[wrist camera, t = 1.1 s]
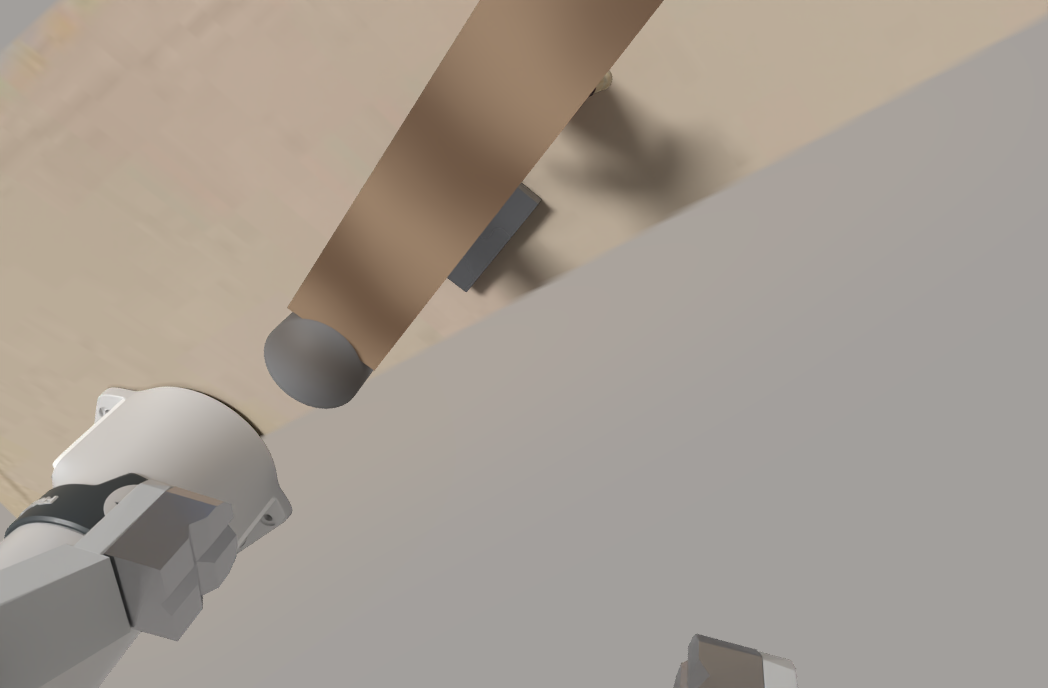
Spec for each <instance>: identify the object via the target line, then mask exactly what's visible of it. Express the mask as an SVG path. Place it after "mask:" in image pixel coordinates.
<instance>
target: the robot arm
mask: <svg viewBox="0 0 1048 688" xmlns="http://www.w3.org/2000/svg"><path fill="white" fill-rule="evenodd" d="M53 467H54V471H53V474H52V483H53V489H51V490H49V491H48V492H47V493H46V494H45V495H43V496H42V497H41V498H40V499H39V500H36V501H35V502H34V503H32V504H31V505H30V506H28V507H27V508H26V509H25V510H24V511H23V512H22V513H21V514H20V516H19V517H18V519H16V520H15V521H14V522H13V523H12V524H11V525H10V526H9V528H8V529H7V531H6V533H5V537H4V540H2V541H1V542H0V688H99V686H100V685H101V684H102V682H103V681H104V680H105V678H106V677H107V676H108V674H109V673H110V672H111V670H112V669H113V667H114V666H115V665H116V664H117V662H118V661H119V660H120V658H121V657H122V656H123V654H124V653H125V652H126V650H127V649H128V648H129V646H130V645H131V644H132V643H133V641H134V640H135V639H136V638H137V636H138V635H139V634H140V632H146V633H150V634H153V635H157V636H160V637H164V638H167V639H171V640H174V641H178V640H179V639H180V637H181V636H182V635H183V634H184V632H185V631H186V630H187V628H188V627H189V626H190V624H191V623H192V622H193V620H194V619H195V618H196V616H197V615H198V614H199V613H200V611H201V610H202V608H203V600H202V599H203V597H202V596H203V595H204V594H206V593H208V592H210V591H212V590H214V589H216V588H218V587H219V586H220V585H221V583H222V582H223V581H224V579H225V578H226V577H227V575H228V574H229V572H230V569H231V567H232V565H233V563H234V561H235V558H236V554H237V553H239V552H240V551H242V550H243V549H244V548H246V547H248V546H249V545H250V544H252V543H253V542H255V541H256V540H258V539H260V538H261V537H262V536H264V535H265V534H267V533H268V532H270V531H271V530H273V529H274V528H276V527H277V526H279V525H280V524H282V523H283V522H284V521H285V520H286V519H287V518H288V517H289V516H290V515H291V513H292V507H291V504H290V502H289V501H288V499H287V497H286V496H285V494H284V493H283V491H282V490H281V488H280V487H279V484H278V480H277V474H276V469H275V465H274V462H273V459H272V457H271V454H270V452H269V450H268V449H267V446H266V445H265V443H264V442H263V440H262V439H261V437H260V436H259V435H258V433H257V432H256V431H255V430H254V429H253V428H252V427H251V426H250V425H249V424H248V423H247V422H246V421H245V420H244V419H243V418H242V417H241V416H240V415H238V414H237V413H236V412H234V411H233V410H232V409H230V408H229V407H227V406H226V405H224V404H222V403H221V402H219V401H217V400H215V399H213V398H211V397H209V396H207V395H204V394H202V393H199V392H196V391H193V390H189V389H185V388H179V387H157V388H152V389H148V390H143V391H133V390H128V389H122V388H108V389H106V390H105V391H104V392H103V393H102V394H101V395H100V396H99V397H98V400H97V408H96V415H95V423H94V425H93V426H92V427H91V428H90V429H88V430H87V431H86V432H85V433H84V434H83V435H82V436H81V437H80V438H78V439H77V440H76V441H75V442H74V443H73V444H72V445H71V446H70V447H69V448H67V449H66V450H65V451H64V452H63V453H62V454H61V455H60V456H59V457H58V458H57V459H56V460H55V462H54V463H53ZM674 688H798V684H797V675H796V668H795V666H794V664H793V663H792V661H791V660H789V659H785V658H781V657H778V656H774V655H770V654H767V653H763V652H758V651H757V650H756V649H752V648H748V647H744V646H740V645H737V644H733V643H729V642H725V641H722V640H718V639H714V638H710V637H707V636H703V635H699V634H695V635H694V636H693V638H692V640H691V642H690V644H689V646H688V661H686V662H684V663H681V665H680V668H679V670H678V673H677V676H676V680H675V684H674Z"/></svg>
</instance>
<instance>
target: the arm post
mask: <svg viewBox="0 0 1048 688" xmlns="http://www.w3.org/2000/svg"><path fill="white" fill-rule="evenodd" d="M540 200H541V198H540V197H538V196H537V195H536V194H535V193H533V192H532V191H531V190H530V189H528V188H527V187H526V186H525V185H524V184H522V183H520V185H519V186H518V187H517V189H516V190H515V191H514V192H513V194H512V195H511V196H510V198H509V199H508V200H507V201H506V203H505V204H504V205H503V206H502V208H501V209H500V210H499V212H498V213H497V214H496V215H495V217H494V218H493V219H492V221H491V222H490V223H489V224H488V226H487V227H486V228H485V230H484V231H483V232H482V233H481V235H480V236H479V237H478V238H477V240H476V241H475V242H474V244H473V245H472V246H471V247H470V249H469V250H468V251H467V253H466V254H465V255H464V256H463V258H462V259H461V260H460V261H459V263H458V264H457V265H456V267H455V268H454V269H453V270H452V272H451V273H450V274H449V276H448V277H447V278H448V279H449V280H451V281H452V282H453V283H455V284H456V285H457V286H458V287H460V288H461V289H462V290H464V291H465V292H467V291H468V290H469V288H470V287H471V286H472V285H473V284H474V282H475V281H476V280H477V279H478V277H479V276H480V275H481V274H482V273H483V271H484V270H485V269H486V268H487V266H488V265H489V264H490V263H491V261H492V260H493V259H494V258H495V257H496V255H497V254H498V253H499V252H500V250H501V249H502V248H503V247H504V246H505V244H506V243H507V242H508V241H509V239H510V238H511V237H512V236H513V235H514V233H515V232H516V231H517V230H518V228H519V227H520V226H521V225H522V224H523V222H524V221H525V220H526V219H527V217H528V216H529V215H530V214H531V212H532V211H533V210H534V209H535V208H536V206H537V205H538V204H539V202H540Z"/></svg>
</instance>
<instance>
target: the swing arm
mask: <svg viewBox="0 0 1048 688" xmlns="http://www.w3.org/2000/svg"><path fill="white" fill-rule="evenodd" d="M662 2H663V0H480V1H479V3H478V4H477V6H476V7H475V9H474V11H473V12H472V14H471V15H470V17H469V19H468V20H467V22H466V23H465V25H464V26H463V28H462V30H461V31H460V33H459V34H458V36H457V38H456V39H455V41H454V42H453V44H452V46H451V47H450V49H449V50H448V52H447V54H446V55H445V57H444V58H443V60H442V62H441V63H440V65H439V66H438V68H437V70H436V71H435V73H434V74H433V76H432V78H431V79H430V81H429V82H428V84H427V86H426V87H425V89H424V90H423V92H422V93H421V95H420V97H419V98H418V100H417V101H416V103H415V105H414V106H413V108H412V109H411V111H410V113H409V114H408V116H407V117H406V119H405V121H404V122H403V124H402V125H401V127H400V129H399V130H398V132H397V133H396V135H395V137H394V138H393V140H392V141H391V143H390V145H389V146H388V148H387V149H386V151H385V153H384V154H383V156H382V157H381V159H380V160H379V162H378V164H377V165H376V167H375V168H374V170H373V172H372V173H371V175H370V176H369V178H368V180H367V181H366V183H365V184H364V186H363V188H362V189H361V191H360V192H359V194H358V196H357V197H356V199H355V200H354V202H353V204H352V205H351V207H350V208H349V210H348V212H347V213H346V215H345V216H344V218H343V220H342V221H341V223H340V224H339V226H338V227H337V229H336V231H335V232H334V234H333V235H332V237H331V239H330V240H329V242H328V243H327V245H326V247H325V248H324V250H323V251H322V253H321V255H320V256H319V258H318V259H317V261H316V263H315V264H314V266H313V267H312V269H311V271H310V272H309V274H308V275H307V277H306V279H305V280H304V282H303V283H302V285H301V287H300V288H299V290H298V291H297V293H296V295H295V296H294V298H293V299H292V301H291V302H290V304H289V306H288V307H287V308H288V309H290V310H291V311H292V313H291V314H290V315H289V316H288V317H287V318H286V319H285V320H284V321H283V322H281V323H280V324H279V325H278V326H277V327H276V328H275V329H274V330H273V331H272V332H271V333H270V334H269V336H268V338H267V340H266V343H265V347H264V357H265V363H266V366H267V369H268V371H269V373H270V375H271V376H272V378H273V380H274V381H275V382H276V384H277V385H278V386H279V387H280V388H281V389H282V390H283V391H284V392H285V393H287V394H288V395H289V396H290V397H292V398H294V399H295V400H297V401H299V402H301V403H303V404H306V405H308V406H312V407H316V408H325V409H327V408H336V407H339V406H342V405H344V404H346V403H348V402H349V401H350V400H351V399H352V398H353V397H354V396H355V395H356V393H357V392H358V391H359V389H360V388H361V386H362V385H363V384H364V382H365V381H366V380H367V378H368V377H369V376H370V374H371V373H372V371H373V370H375V369H376V368H377V366H378V365H379V364H380V363H381V361H382V360H383V359H384V357H385V356H386V355H387V354H388V352H389V351H390V350H391V348H392V347H393V346H394V345H395V343H396V342H397V341H398V340H399V338H400V337H401V336H402V334H403V333H404V332H405V331H406V329H407V328H408V327H409V325H410V324H411V323H412V322H413V320H414V319H415V318H416V317H417V315H418V314H419V313H420V311H421V310H422V309H423V308H424V306H425V305H426V304H427V302H428V301H429V300H430V299H431V297H432V296H433V295H434V293H435V292H436V291H437V290H438V288H439V287H440V286H441V285H442V283H443V282H444V281H445V279H446V278H447V277H448V276H449V274H450V273H451V272H452V270H453V269H454V268H455V267H456V265H457V264H458V263H459V261H460V260H461V259H462V258H463V256H464V255H465V254H466V253H467V251H468V250H469V249H470V247H471V246H472V245H473V244H474V242H475V241H476V240H477V238H478V237H479V236H480V235H481V233H482V232H483V231H484V230H485V228H486V227H487V226H488V224H489V223H490V222H491V221H492V219H493V218H494V217H495V215H496V214H497V213H498V212H499V210H500V209H501V208H502V206H503V205H504V204H505V203H506V201H507V200H508V199H509V198H510V196H511V195H512V194H513V192H514V191H515V190H516V189H517V187H518V186H519V185H520V183H521V182H522V181H523V180H524V178H525V177H526V176H527V174H528V173H529V172H530V171H531V169H532V168H533V167H534V166H535V164H536V163H537V162H538V160H539V159H540V158H541V157H542V155H543V154H544V153H545V151H546V150H547V149H548V148H549V146H550V145H551V144H552V143H553V141H554V140H555V139H556V137H557V136H558V135H559V134H560V132H561V131H562V130H563V128H564V127H565V126H566V125H567V123H568V122H569V121H570V119H571V118H572V117H573V116H574V114H575V113H576V112H577V111H578V109H579V108H580V107H581V105H582V104H583V103H584V102H585V100H586V99H587V98H588V96H589V95H590V94H591V93H592V91H593V90H594V89H595V87H596V86H597V85H598V84H599V82H600V81H601V80H602V79H603V77H604V76H605V75H606V73H607V72H608V71H609V70H610V68H611V67H612V66H613V64H614V63H615V62H616V61H617V59H618V58H619V57H620V55H621V54H622V53H623V52H624V50H625V49H626V48H627V47H628V45H629V44H630V43H631V41H632V40H633V39H634V38H635V36H636V35H637V34H638V32H639V31H640V30H641V29H642V27H643V26H644V25H645V24H646V22H647V21H648V20H649V18H650V17H651V16H652V15H653V13H654V12H655V11H656V9H657V8H658V7H659V6H660V4H661V3H662Z"/></svg>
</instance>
